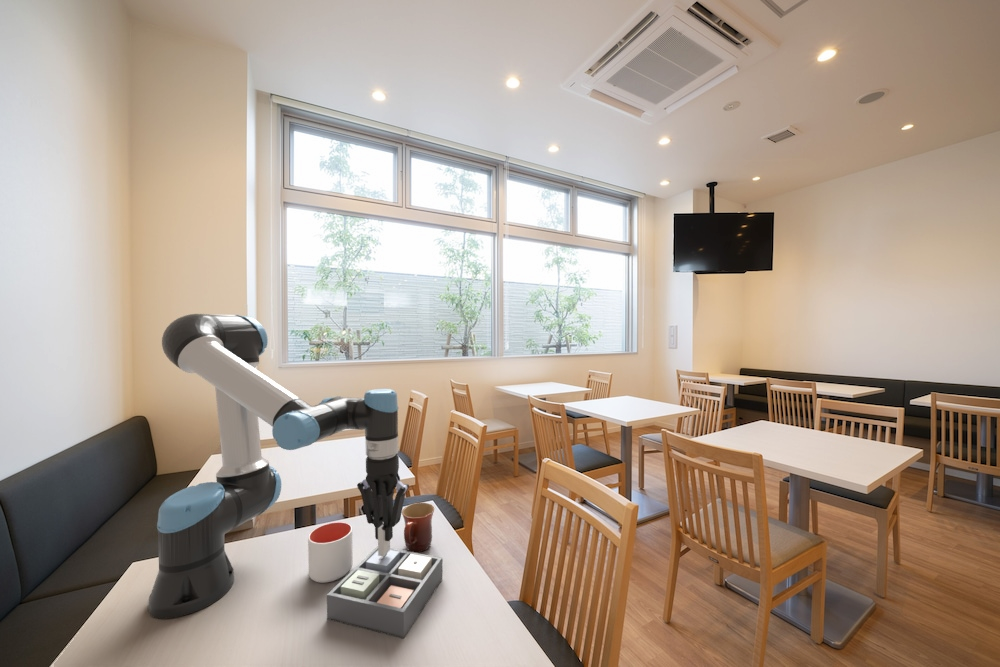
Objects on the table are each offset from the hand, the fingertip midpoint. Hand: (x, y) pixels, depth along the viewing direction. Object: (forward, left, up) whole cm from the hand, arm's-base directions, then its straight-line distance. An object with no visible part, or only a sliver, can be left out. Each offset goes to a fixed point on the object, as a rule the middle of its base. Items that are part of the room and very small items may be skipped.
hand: (384, 552), depth 89 cm
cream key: (+8, 0, -5) cm, 9 cm away
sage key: (0, -9, -5) cm, 10 cm away
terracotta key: (+8, -9, -6) cm, 14 cm away
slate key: (0, 0, -5) cm, 5 cm away
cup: (-15, 0, -7) cm, 17 cm away
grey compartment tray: (+4, -4, -7) cm, 9 cm away
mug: (+1, +14, -7) cm, 16 cm away
